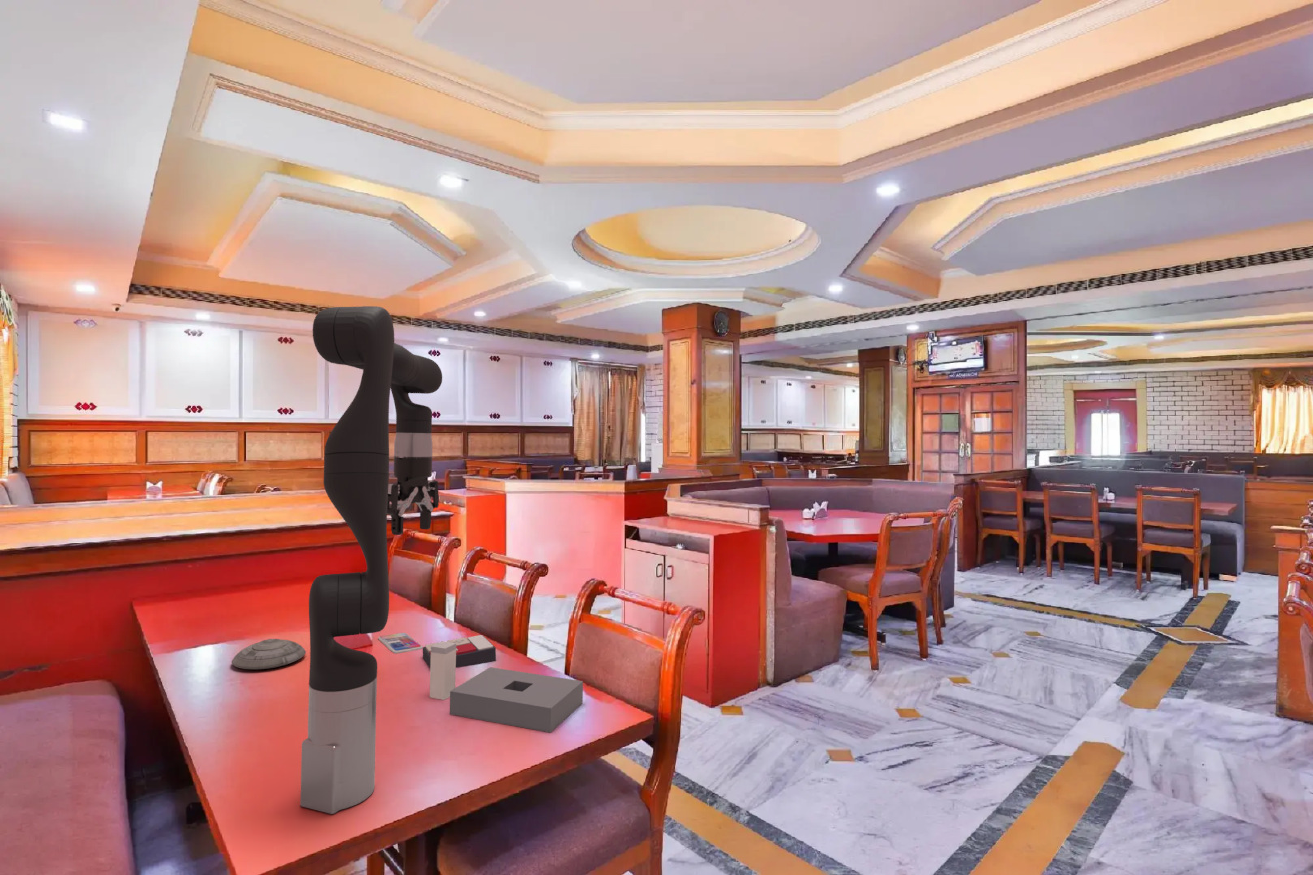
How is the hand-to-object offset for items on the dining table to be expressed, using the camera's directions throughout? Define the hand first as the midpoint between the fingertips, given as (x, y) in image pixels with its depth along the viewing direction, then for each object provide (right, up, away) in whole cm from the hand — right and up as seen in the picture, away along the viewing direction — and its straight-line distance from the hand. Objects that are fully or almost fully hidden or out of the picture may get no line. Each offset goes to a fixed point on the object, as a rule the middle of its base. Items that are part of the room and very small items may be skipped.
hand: (411, 531), depth 132 cm
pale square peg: (+7, -34, 0) cm, 35 cm away
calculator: (+3, -35, +21) cm, 41 cm away
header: (+24, -35, -6) cm, 42 cm away
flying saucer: (-40, -34, +17) cm, 55 cm away
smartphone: (-15, -35, +32) cm, 50 cm away
